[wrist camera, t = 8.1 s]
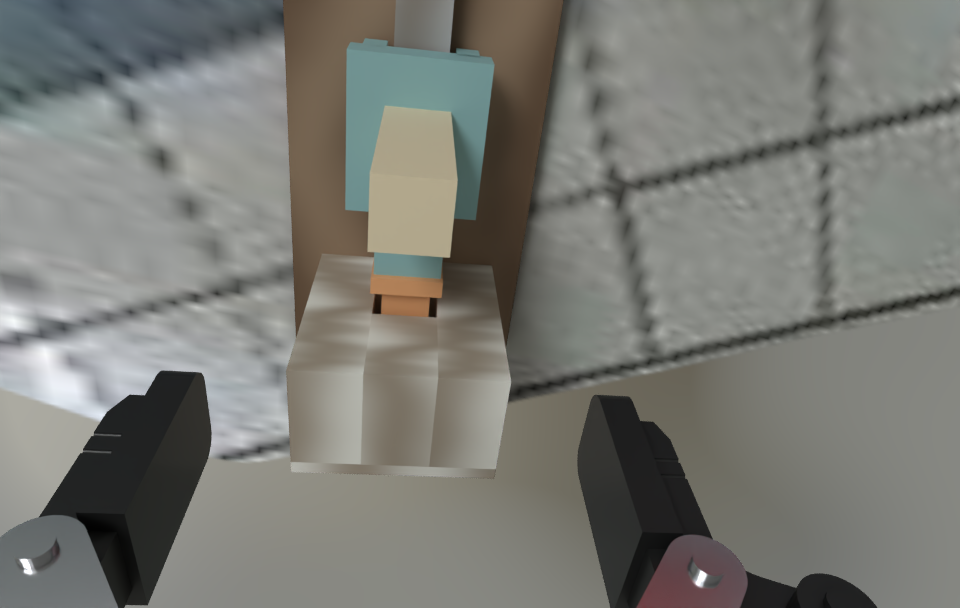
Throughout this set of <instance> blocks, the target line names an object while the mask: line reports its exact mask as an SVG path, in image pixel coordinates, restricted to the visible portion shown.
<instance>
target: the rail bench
mask: <svg viewBox="0 0 960 608" xmlns="http://www.w3.org/2000/svg"><path fill="white" fill-rule="evenodd" d="M563 1H564V0H283V9H284V35H285V61H286V87H287V113H288V139H289V165H290V191H291V217H292V244H293V270H294V296H295V322H296V340H295V344H294V347H293V350H292V353H291V357H290V360H289V363H288V366H287V370H286V375H287V395H288V416H289V436H290V456H291V472H309V473H339V474H342V473H343V474H369V475H399V476H428V477H430V476H431V477H459V478H461V477H462V478H488V479H489V478H490V479H494V477H495V471H496V465H497V459H498V454H499V448H500V442H501V437H502V431H503V426H504V420H505V414H506V409H507V403H508V397H509V392H510V386H511V377H510V371H509V365H508V359H507V353H506V345H507V339H508V333H509V326H510V320H511V314H512V308H513V302H514V296H515V290H516V284H517V278H518V272H519V266H520V260H521V254H522V248H523V242H524V236H525V230H526V224H527V218H528V212H529V206H530V200H531V194H532V188H533V182H534V176H535V170H536V164H537V158H538V152H539V146H540V140H541V134H542V127H543V121H544V115H545V109H546V103H547V97H548V91H549V85H550V79H551V73H552V67H553V61H554V55H555V49H556V43H557V37H558V31H559V25H560V19H561V13H562V7H563ZM365 38H368V39H377V40H386V41H388V46H392V47H401V48H410V49H420V50H429V51H438V52H447V53H456V48H459V49H468V50H478V51H479V54H480V56H484V57H492V60H493V62H494V73H493V81H492V89H491V98H490V106H489V114H488V122H487V131H486V139H485V147H484V155H483V164H482V172H481V180H480V188H479V197H478V205H477V213H476V220H467V219H454V222H453V231H452V241H451V251H450V258H447V257H443V260H442V267H443V288H442V298H431V297H430V303H429V314H428V317H418V316H402V315H386V314H381V303H382V294H370V283H371V273H372V266H373V260H374V252H368V216H369V212H366V211H353V210H345V191H346V69H347V47H348V46H349V44H350V42H355V43H363V41H364V39H365Z"/></svg>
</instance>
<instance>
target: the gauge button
mask: <svg viewBox="0 0 960 608" xmlns="http://www.w3.org/2000/svg"><path fill="white" fill-rule="evenodd" d="M442 288H443V267H442V270H441V279H435V278H420V277H405V276H391V275H376V274H374V260H373V266H372V273H371V283H370V294H382V303H381V314H386V315H402V316H418V317H428V314H429V303H430V297H431V298H442Z"/></svg>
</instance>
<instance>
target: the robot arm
mask: <svg viewBox="0 0 960 608" xmlns="http://www.w3.org/2000/svg"><path fill="white" fill-rule="evenodd" d="M211 435H212V434H211V423H210V416H209V409H208V401H207V394H206V387H205V380H204V376H203V374H202V373H199V372H181V371H160V372H159V373H158V374H157V376H156V377H155V379H154V381H153V382H152V384H151V386H150V388H149V389H148V391H147V393H146V394H145V395H129V396H127V397H126V398H125V399H123V400H122V401H121V402H120V403H118V404H117V405H116V406H114V407H113V408H112V409H110V410H109V411H108V412H107V413H106V414H105V416H104V417H103V419H102V421H101V422H100V424H99V425H98V427H97V428H96V430H95V431H94V436H91V438H90V439H89V441H88V442H87V444H86V445H85V447H84V449H83V453H80V455H79V456H78V458H77V459H76V461H75V463H74V464H73V465H72V467H71V469H70V470H69V472H68V473H67V475H66V476H65V478H64V479H63V481H62V483H61V484H60V486H59V487H58V489H57V490H56V492H55V493H54V495H53V496H52V498H51V500H50V501H49V503H48V505H47V506H46V508H45V509H44V510H43V512H42V513H41V515H40V516H39V518H35V519H32V520H29V521H27V522H24V523H22V524H20V525H18V526H16V527H14V528H13V529H11V530H9V531H8V532H6V533H5V534H4V535H2V536H1V537H0V608H124V607H125V605H148V603H149V600H150V598H151V596H152V593H153V591H154V588H155V586H156V583H157V581H158V579H159V576H160V574H161V571H162V569H163V567H164V564H165V562H166V559H167V557H168V554H169V552H170V549H171V547H172V544H173V542H174V540H175V537H176V535H177V532H178V530H179V528H180V525H181V523H182V520H183V518H184V516H185V513H186V511H187V508H188V506H189V503H190V501H191V498H192V496H193V494H194V491H195V489H196V486H197V484H198V482H199V479H200V477H201V474H202V472H203V469H204V467H205V464H206V462H207V459H208V456H209V452H210V447H211ZM578 475H579V480H580V483H581V488H582V492H583V496H584V500H585V505H586V509H587V513H588V517H589V521H590V525H591V529H592V533H593V538H594V542H595V546H596V550H597V554H598V558H599V562H600V566H601V570H602V574H603V579H604V583H605V586H606V591H607V595H608V599H609V603H610V608H877V607H876V605H875V604H874V603H873V602H872V601H871V599H870V598H869V597H868V596H867V595H866V594H865V593H863V592H862V591H861V590H860V589H858V588H857V587H855V586H854V585H852V584H851V583H849V582H847V581H845V580H843V579H841V578H839V577H836V576H832V575H829V574H811V575H809V576H806V577H804V578H803V579H802V580H801V581H800V583H799V584H798V586H797V588H794V587H791V586H788V585H784V584H781V583H778V582H775V581H771V580H768V579H765V578H762V577H759V576H756V575H754V574H751V573H749V572H747V571H745V569H744V567H743V565H742V563H741V562H740V560H739V559H738V558H737V556H736V555H735V554H734V553H733V552H732V551H731V550H729V549H728V548H727V547H726V546H724V545H723V544H721V543H719V542H718V541H715V540H713V538H712V536H711V534H710V532H709V529H708V527H707V525H706V522H705V520H704V518H703V515H702V513H701V511H700V508H699V506H698V504H697V502H696V499H695V497H694V494H693V492H692V490H691V487H690V485H689V483H688V480H687V479H685V473H684V471H683V469H682V466H681V464H680V463H678V457H677V455H676V452H675V450H674V448H673V445H672V443H671V441H670V439H669V438H668V437H667V436H666V435H665V434H664V433H663V432H662V431H661V429H660V428H659V427H658V426H657V425H656V424H655V423H654V422H645V421H640V420H639V417H638V415H637V412H636V409H635V407H634V404H633V402H632V400H631V399H630V397H627V396H609V395H608V396H607V395H594V396H593V397H592V399H591V402H590V406H589V410H588V414H587V418H586V421H585V425H584V429H583V433H582V437H581V441H580V445H579V449H578Z"/></svg>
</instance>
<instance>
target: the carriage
mask: <svg viewBox="0 0 960 608" xmlns="http://www.w3.org/2000/svg"><path fill="white" fill-rule="evenodd" d="M493 73H494V62H493V60H492V57H484V56H480V54H479V51H478V50H468V49H459V48H456V53H447V52H438V51H429V50H420V49H410V48H401V47H392V46H388V41H386V40H377V39H368V38H365V39H364V41H363V43H355V42H350V44H349V46H348V47H347V69H346V191H345V210H353V211H366V212H369V216H368V252H374V274H376V275H391V276H405V277H420V278H435V279H441V270H442V260H443V257H447V258H450V251H451V241H452V231H453V222H454V219H467V220H476V213H477V205H478V197H479V188H480V180H481V172H482V164H483V155H484V147H485V139H486V131H487V122H488V114H489V106H490V98H491V89H492V81H493Z"/></svg>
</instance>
